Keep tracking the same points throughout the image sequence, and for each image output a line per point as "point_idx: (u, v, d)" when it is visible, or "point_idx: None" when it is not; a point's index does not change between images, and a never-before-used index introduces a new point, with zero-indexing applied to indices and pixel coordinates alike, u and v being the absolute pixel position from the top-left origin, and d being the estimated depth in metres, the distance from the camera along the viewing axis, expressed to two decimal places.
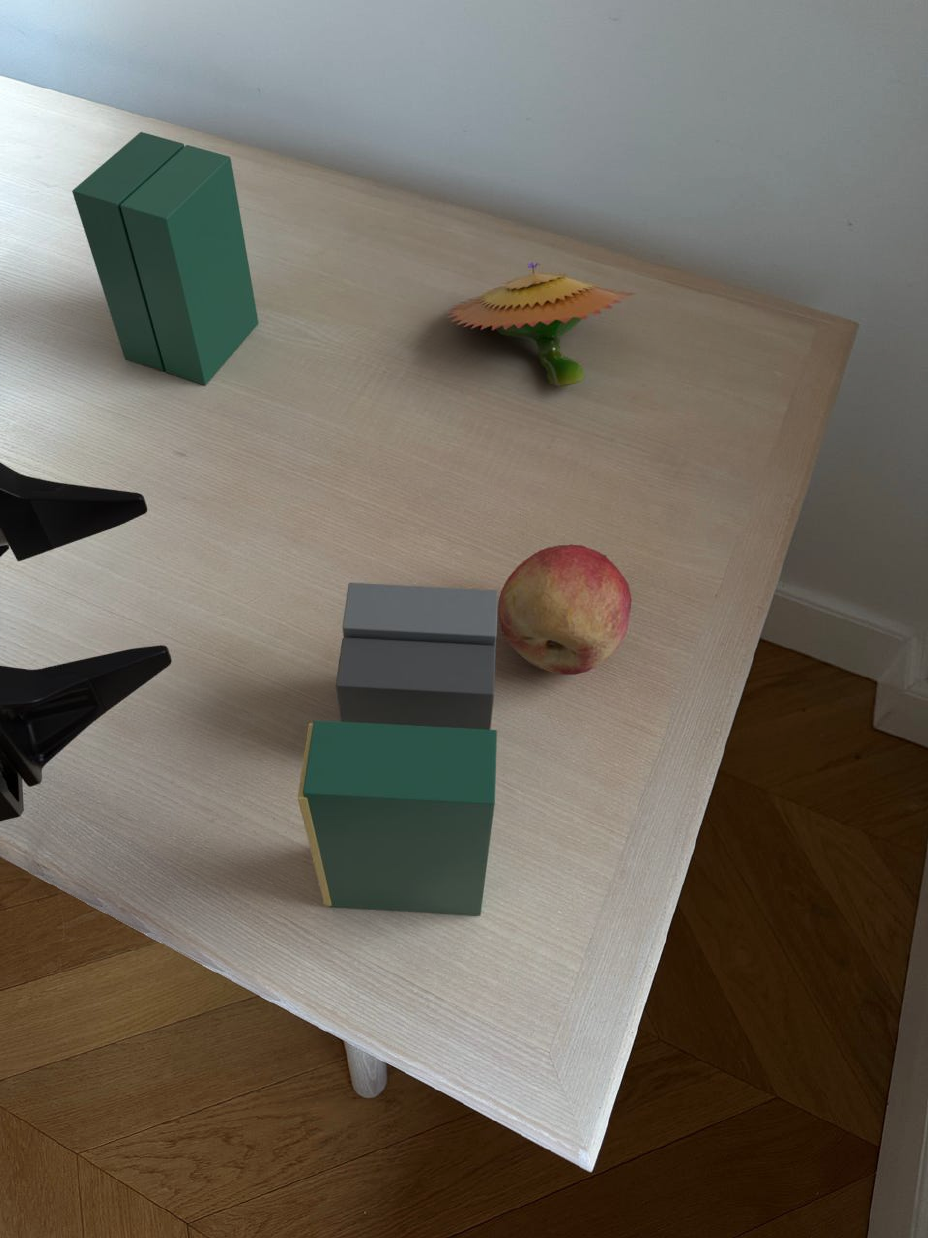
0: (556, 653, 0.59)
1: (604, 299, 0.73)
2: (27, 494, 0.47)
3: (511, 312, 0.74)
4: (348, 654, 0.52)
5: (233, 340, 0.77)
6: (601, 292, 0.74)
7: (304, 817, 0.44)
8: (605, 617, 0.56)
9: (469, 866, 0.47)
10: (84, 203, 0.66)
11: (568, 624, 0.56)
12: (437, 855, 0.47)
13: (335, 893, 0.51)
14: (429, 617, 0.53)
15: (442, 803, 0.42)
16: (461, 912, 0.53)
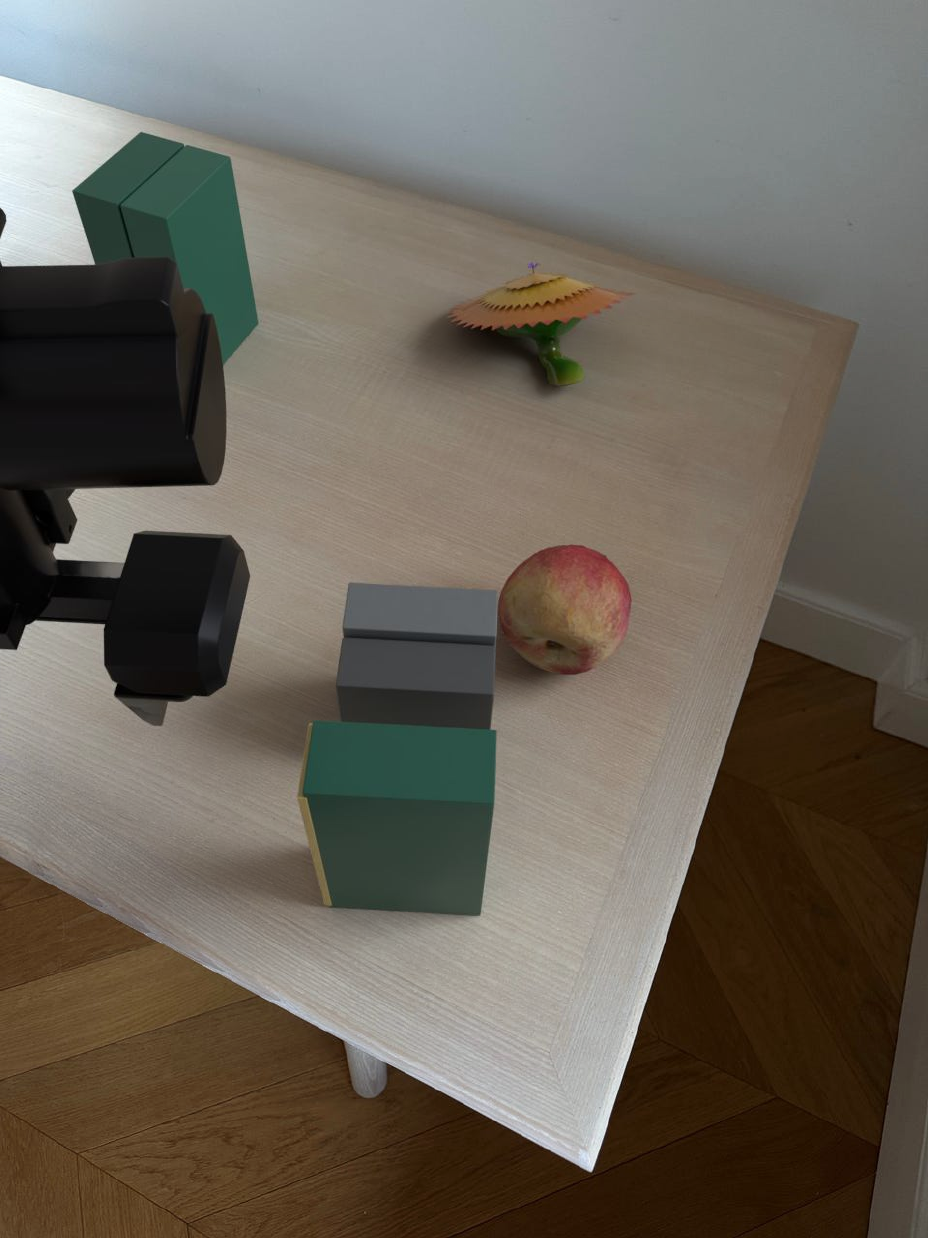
0: (556, 653, 0.59)
1: (604, 299, 0.73)
2: None
3: (511, 312, 0.74)
4: (348, 654, 0.52)
5: (233, 340, 0.77)
6: (601, 292, 0.74)
7: (304, 817, 0.44)
8: (605, 617, 0.56)
9: (469, 866, 0.47)
10: (84, 203, 0.66)
11: (569, 624, 0.56)
12: (437, 855, 0.47)
13: (335, 893, 0.51)
14: (429, 617, 0.53)
15: (441, 802, 0.42)
16: (461, 912, 0.53)
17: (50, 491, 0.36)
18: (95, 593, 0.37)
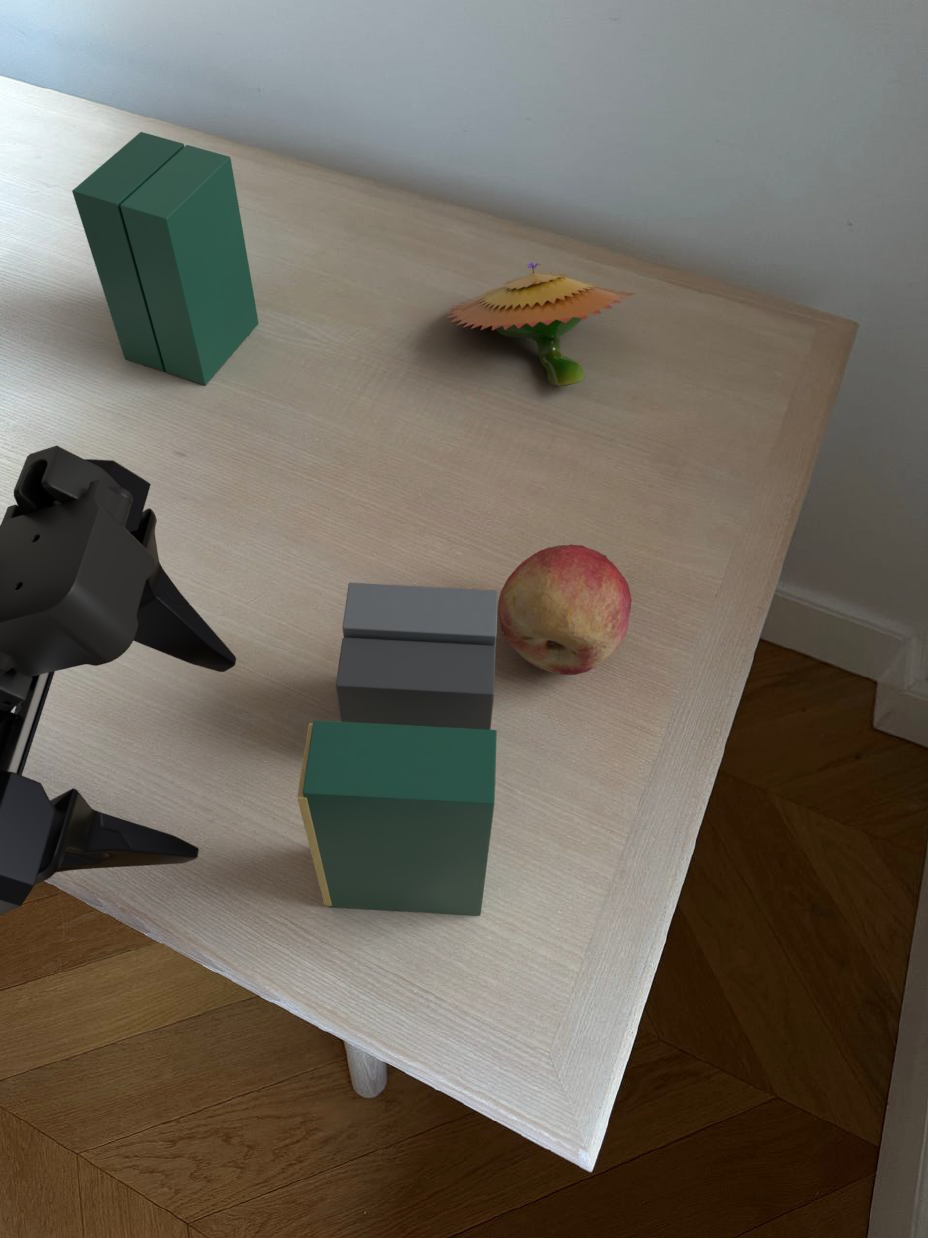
0: (556, 653, 0.59)
1: (604, 299, 0.73)
2: (156, 591, 0.43)
3: (511, 312, 0.74)
4: (348, 654, 0.52)
5: (233, 340, 0.77)
6: (601, 292, 0.74)
7: (304, 817, 0.44)
8: (605, 617, 0.56)
9: (469, 866, 0.47)
10: (84, 203, 0.66)
11: (568, 624, 0.56)
12: (437, 855, 0.47)
13: (335, 893, 0.51)
14: (429, 617, 0.53)
15: (442, 802, 0.42)
16: (461, 912, 0.53)
17: None
18: None
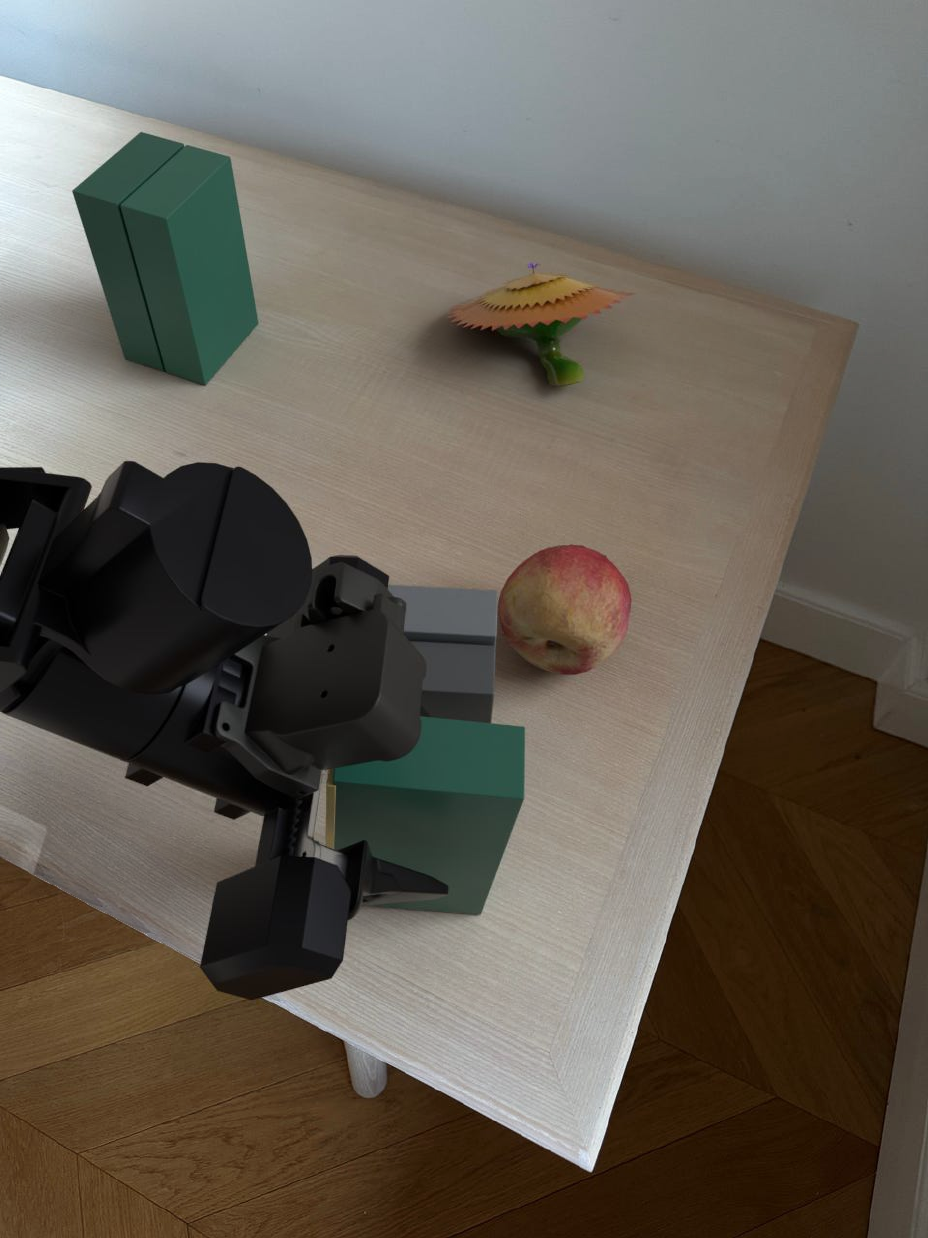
0: (556, 653, 0.59)
1: (604, 299, 0.73)
2: None
3: (511, 313, 0.74)
4: None
5: (233, 340, 0.77)
6: (601, 292, 0.74)
7: (328, 806, 0.43)
8: (605, 617, 0.56)
9: (482, 863, 0.48)
10: (84, 203, 0.66)
11: (568, 624, 0.56)
12: (453, 850, 0.47)
13: None
14: (429, 617, 0.53)
15: (472, 796, 0.42)
16: (463, 910, 0.53)
17: (255, 772, 0.38)
18: (260, 851, 0.40)
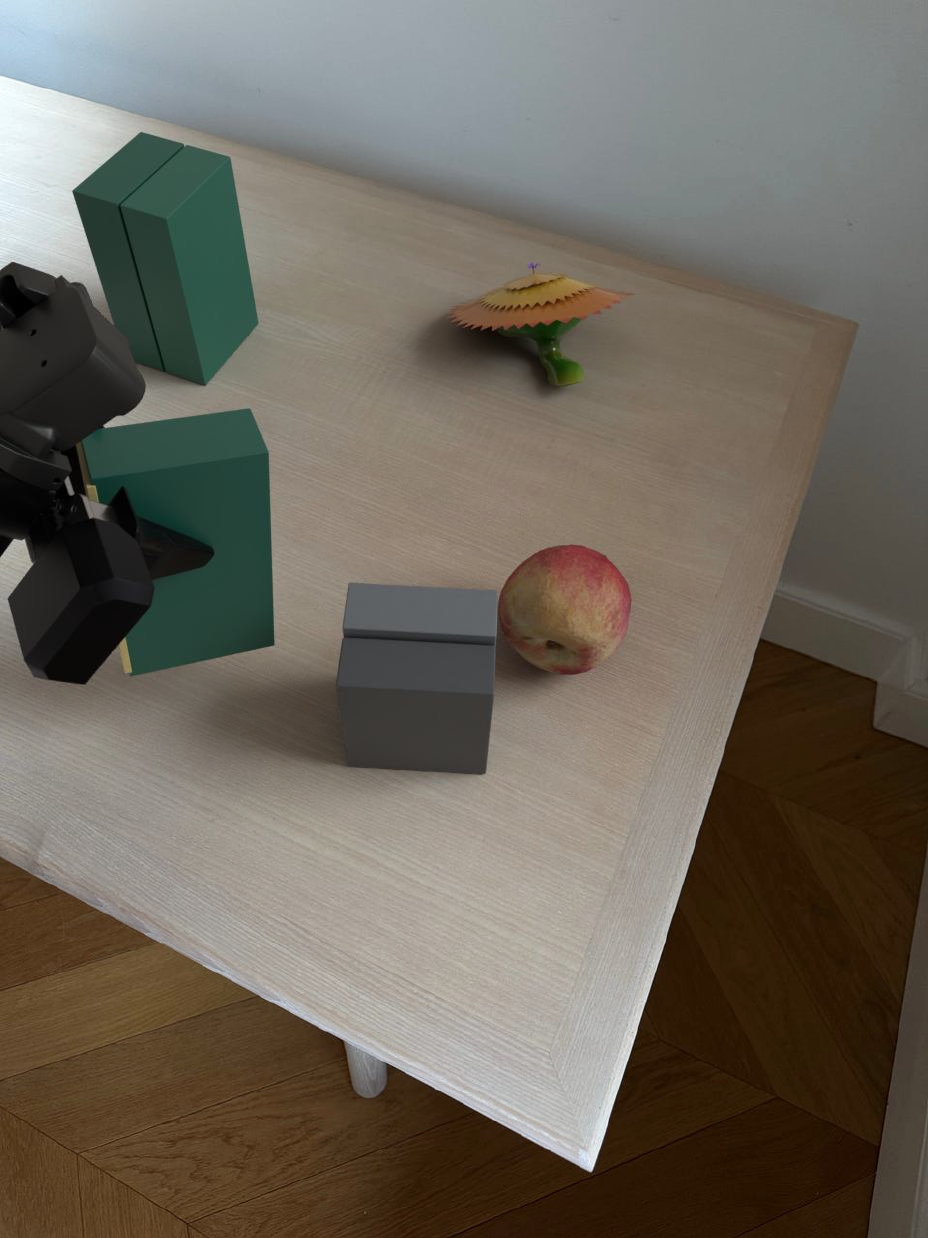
0: (556, 653, 0.59)
1: (604, 299, 0.73)
2: None
3: (511, 313, 0.74)
4: (348, 654, 0.52)
5: (233, 340, 0.77)
6: (601, 292, 0.74)
7: None
8: (605, 617, 0.56)
9: (256, 562, 0.52)
10: (84, 203, 0.66)
11: (568, 624, 0.56)
12: (226, 552, 0.51)
13: (134, 648, 0.53)
14: (429, 617, 0.53)
15: (222, 461, 0.46)
16: (257, 644, 0.57)
17: (6, 465, 0.40)
18: (38, 553, 0.42)
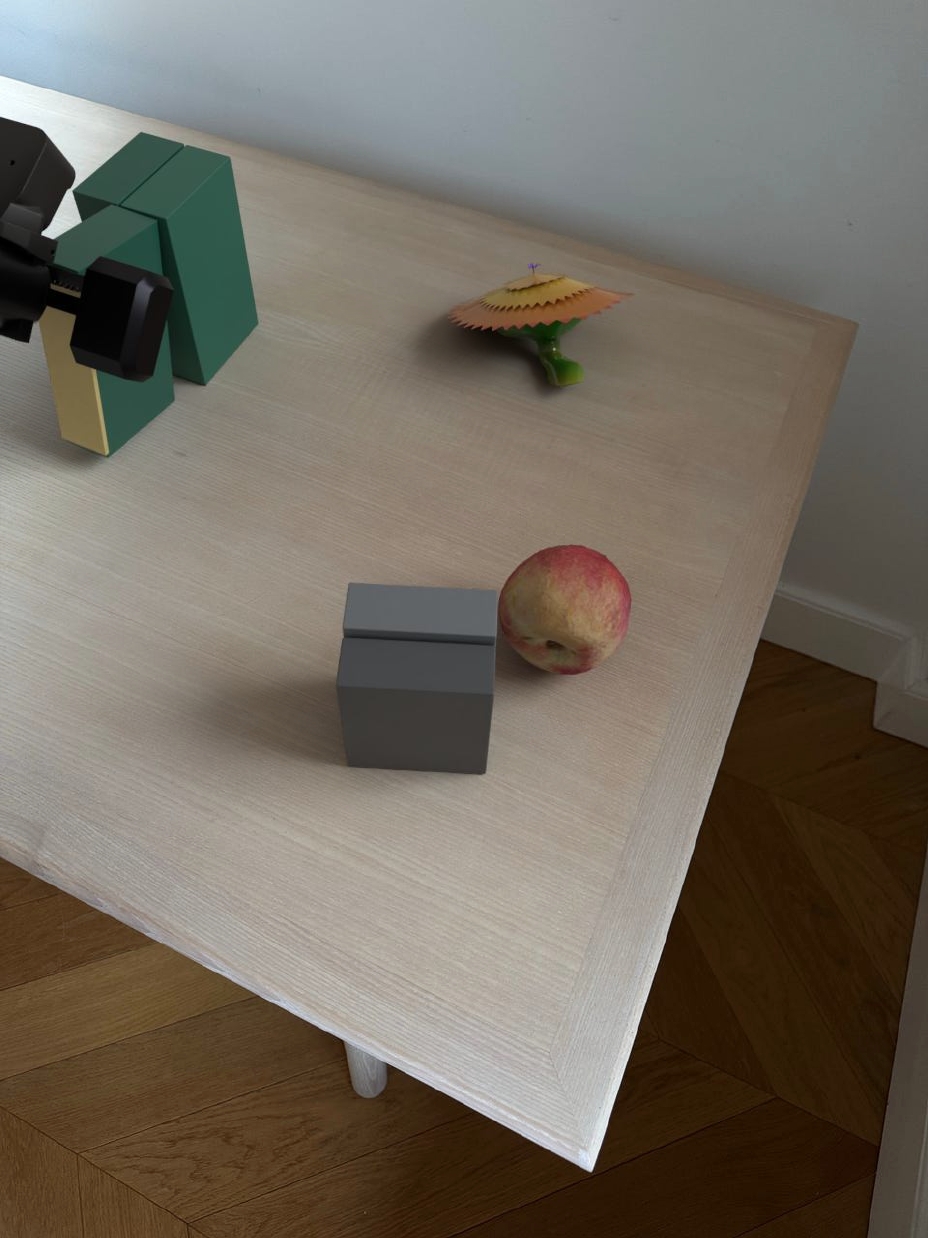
0: (556, 653, 0.59)
1: (604, 299, 0.73)
2: None
3: (511, 313, 0.74)
4: (348, 654, 0.52)
5: (233, 340, 0.77)
6: (601, 292, 0.74)
7: None
8: (605, 617, 0.56)
9: None
10: (84, 203, 0.66)
11: (568, 624, 0.56)
12: None
13: (108, 427, 0.68)
14: (429, 617, 0.53)
15: (137, 235, 0.63)
16: (166, 402, 0.74)
17: (26, 243, 0.55)
18: (68, 308, 0.57)
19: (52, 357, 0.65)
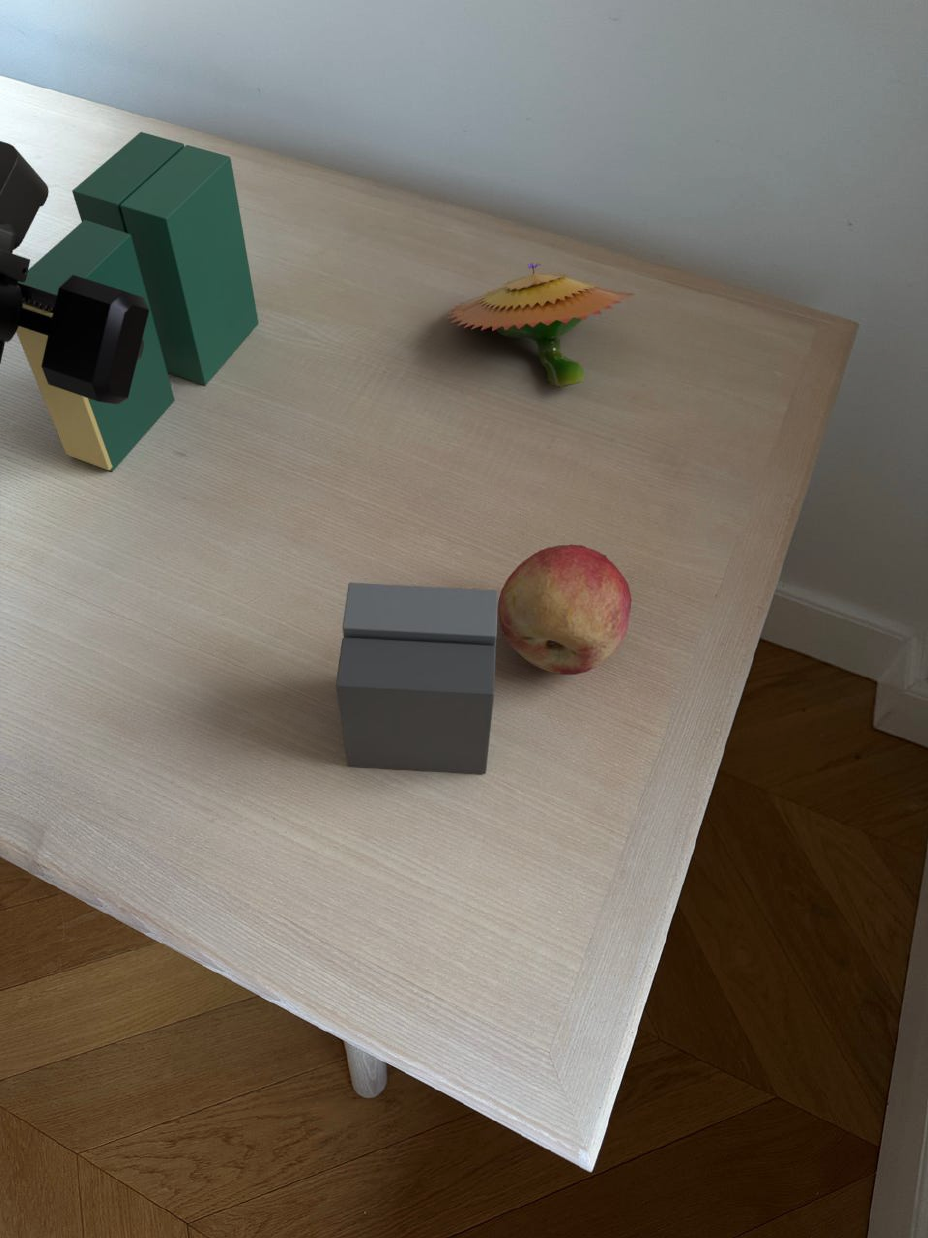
0: (556, 653, 0.59)
1: (604, 299, 0.73)
2: None
3: (511, 313, 0.74)
4: (348, 654, 0.52)
5: (233, 340, 0.77)
6: (601, 292, 0.74)
7: None
8: (605, 617, 0.56)
9: (148, 332, 0.69)
10: (84, 203, 0.66)
11: (568, 624, 0.56)
12: None
13: (108, 444, 0.69)
14: (429, 617, 0.53)
15: (111, 255, 0.62)
16: (166, 404, 0.74)
17: None
18: (41, 328, 0.56)
19: (43, 384, 0.65)
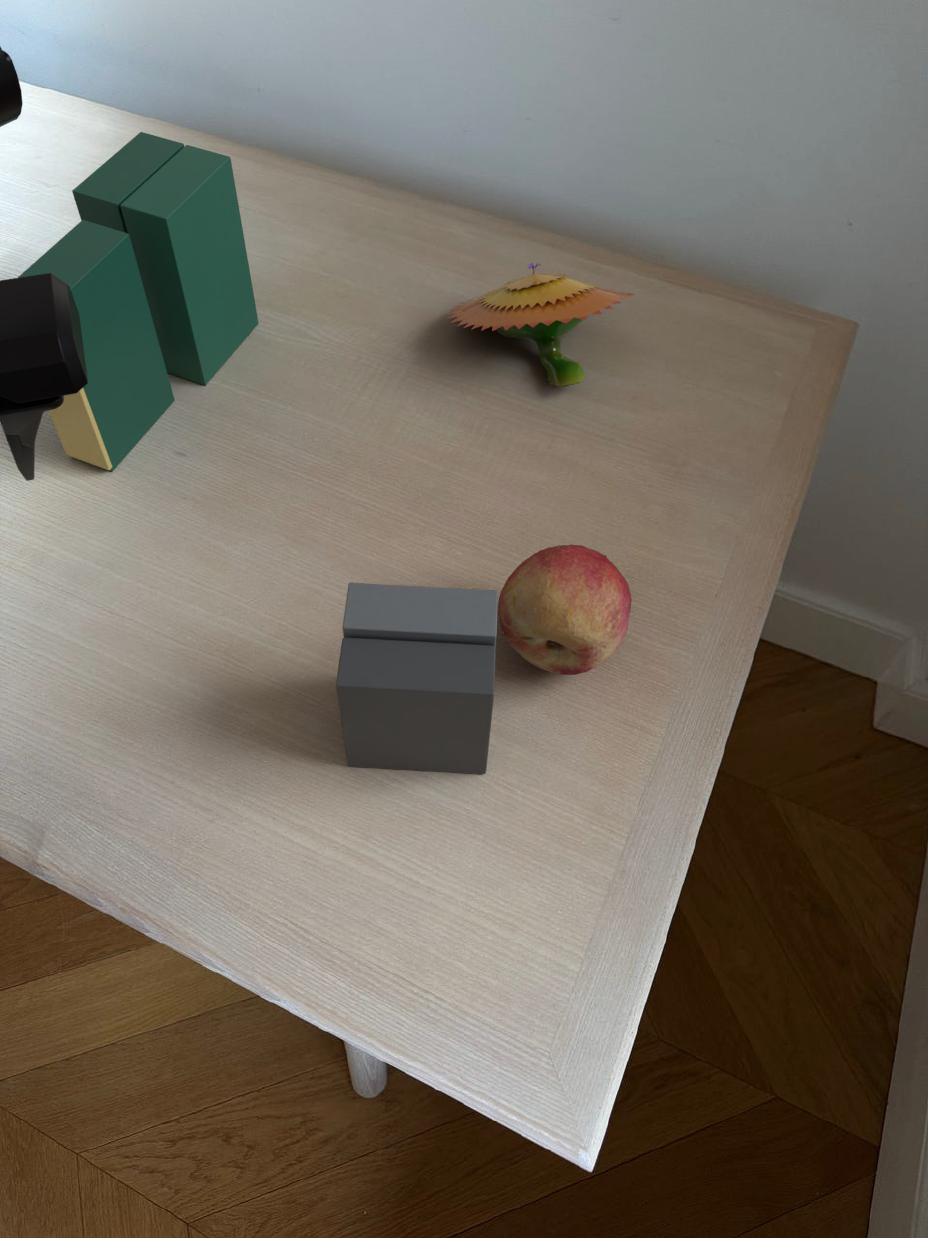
0: (556, 653, 0.59)
1: (604, 299, 0.73)
2: None
3: (511, 313, 0.74)
4: (348, 654, 0.52)
5: (233, 340, 0.77)
6: (601, 293, 0.74)
7: None
8: (605, 617, 0.56)
9: (147, 331, 0.69)
10: (84, 203, 0.66)
11: (568, 624, 0.56)
12: (130, 331, 0.67)
13: (108, 444, 0.69)
14: (429, 617, 0.53)
15: (109, 254, 0.62)
16: (166, 404, 0.74)
17: None
18: None
19: None
